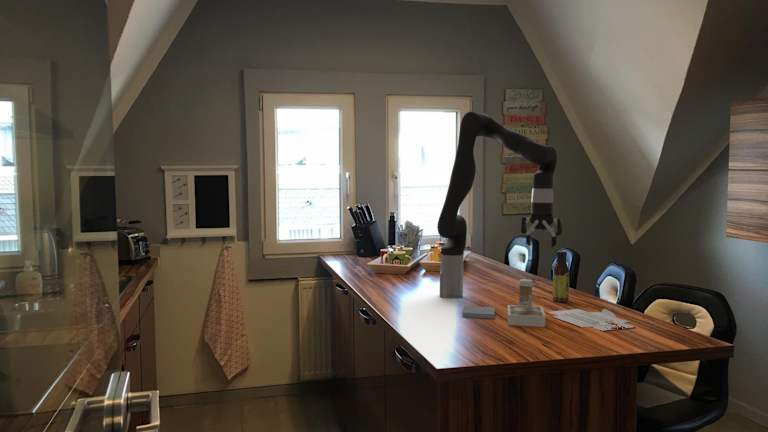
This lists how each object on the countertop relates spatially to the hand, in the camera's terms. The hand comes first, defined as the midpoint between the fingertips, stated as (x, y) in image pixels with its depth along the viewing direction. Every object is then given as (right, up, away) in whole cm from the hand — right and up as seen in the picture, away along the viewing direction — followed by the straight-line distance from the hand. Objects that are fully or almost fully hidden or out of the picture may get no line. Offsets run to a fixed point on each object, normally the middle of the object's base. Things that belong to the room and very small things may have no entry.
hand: (541, 246), depth 217 cm
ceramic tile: (-23, -24, -2) cm, 33 cm away
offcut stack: (-9, -25, -14) cm, 30 cm away
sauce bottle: (+13, -23, +22) cm, 35 cm away
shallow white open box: (-8, -25, -10) cm, 28 cm away
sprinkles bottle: (-7, -25, -7) cm, 27 cm away
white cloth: (+15, -26, -8) cm, 31 cm away
